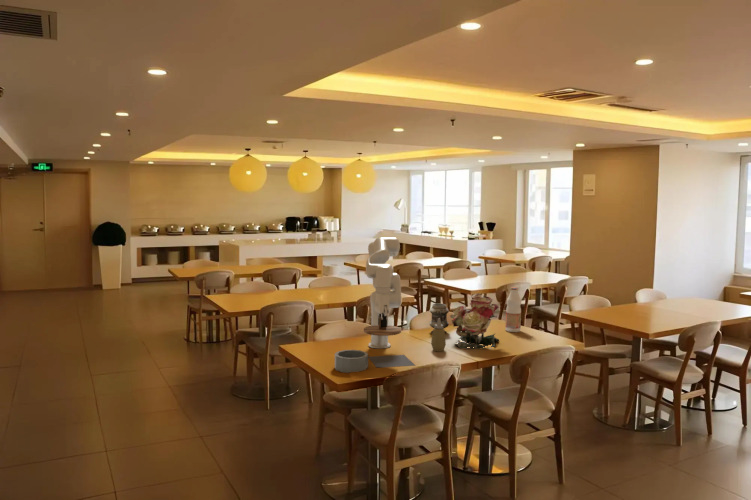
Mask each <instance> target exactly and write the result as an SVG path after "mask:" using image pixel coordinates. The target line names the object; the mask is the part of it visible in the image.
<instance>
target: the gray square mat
mask: <svg viewBox="0 0 751 500" xmlns="http://www.w3.org/2000/svg"><path fill="white" fill-rule="evenodd" d="M368 360H370V362H371V363H372V364H373V365H374V366H375V368H377V369H379V368H396V367H397V368H398V367H412V366H413V367H414V366H416V364H415V363H414V362H412V360H410V359H409V358H408V357H407V356H406V355H405V354H391V355H390V354H389V355H375V356H374V355H373V356H368Z"/></svg>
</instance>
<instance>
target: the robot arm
mask: <svg viewBox="0 0 751 500" xmlns="http://www.w3.org/2000/svg"><path fill="white" fill-rule="evenodd" d="M400 244H401V243H400V240H399V239H398V238H397V237H387V236H386V237H384V236H383V237H377V238H376V239H375V240H374V241H372V242H370V243H369V244H368V248H367V251H368V258H367V259H366V262H365V274H366V277H367V278H368V279H372V286H373V288H374V289H375V291H373V292H371V294H370V297H369V301H370V308H371V310H370V311H371V312H370V313H371V318H370V319H371V322H370V324H371V325H370V326H373V325H379V317H381V327H387V325H389V315H388V314H389V313H390V309H397V308H398V309H399V308H400V307H401V305H402V286H401V285H402V284H401V283H402V282H401V281H402V280H401V276H400V274H398V273H397V272H394V271H395V269H394V267H393V265H392V264H390V263H387V261H389V259H390V257H393V258H394V257H397V256H398V255H399V252H400V250H401V248H400V247H401V245H400ZM370 337H371V339H370V342H368V347H369V348H372V349H379V350H381V349H388V348H390V347H391V343H390V342H389V336H378V335H371V336H370Z"/></svg>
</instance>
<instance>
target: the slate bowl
mask: <svg viewBox="0 0 751 500" xmlns="http://www.w3.org/2000/svg"><path fill="white" fill-rule="evenodd" d="M368 357H369V353H368V352H367V351H364V350H361V349H343V350H339V351H336V352H335V353H334V369H335V371H337V372H340V373H346V374H350V373H357V372H361V371H366V370H367V369H368V368H369V358H368Z"/></svg>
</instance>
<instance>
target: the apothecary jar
mask: <svg viewBox="0 0 751 500" xmlns="http://www.w3.org/2000/svg"><path fill="white" fill-rule="evenodd" d="M429 312H430V313H431V320H430V321H429V326H430V327H431V328H433V329H434V328H435V324H437V321H438V318H440V320H441V324H442V325H443V329H444V330H445V329H446V328H448V327H449V324H450V323H449V321H448V317H447V316H448V315H447V314H449V312H450V310H449V308H448V307H447V304H445V303H433V304H432V307H430V309H429ZM430 333H431V334H433V330H431V331H430ZM446 334H447V331H446V330H445V335H446Z"/></svg>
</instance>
